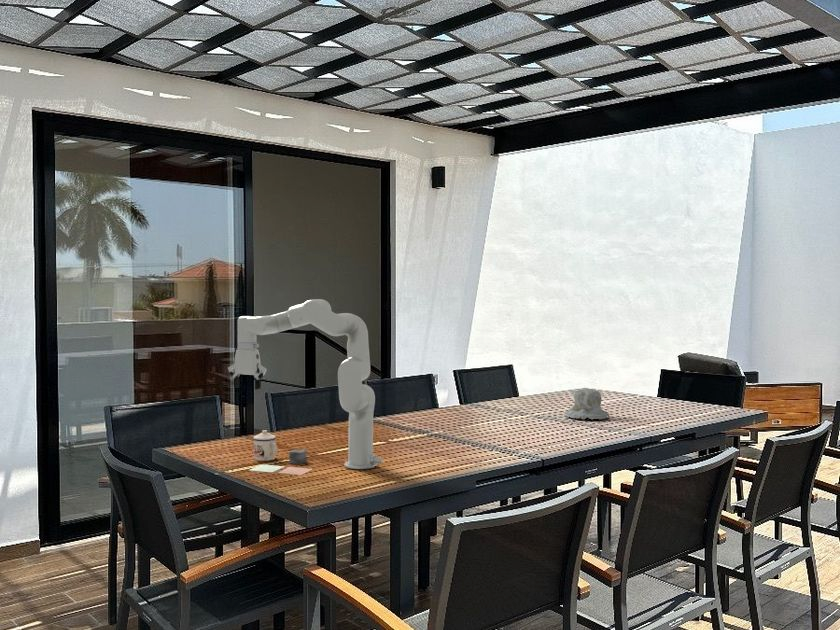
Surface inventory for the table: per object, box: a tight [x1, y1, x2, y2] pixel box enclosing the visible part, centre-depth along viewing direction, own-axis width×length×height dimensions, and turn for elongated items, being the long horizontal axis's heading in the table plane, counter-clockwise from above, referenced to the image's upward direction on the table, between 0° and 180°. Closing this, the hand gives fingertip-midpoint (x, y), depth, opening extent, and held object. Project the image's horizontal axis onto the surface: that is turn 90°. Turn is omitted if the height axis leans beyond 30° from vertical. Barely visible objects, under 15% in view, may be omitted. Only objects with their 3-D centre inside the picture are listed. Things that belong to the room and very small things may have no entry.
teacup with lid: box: [252, 429, 278, 462], centre depth 322 cm, size 12×9×12 cm
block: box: [288, 448, 307, 465], centre depth 316 cm, size 5×5×5 cm
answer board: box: [249, 464, 314, 476], centre depth 303 cm, size 22×10×1 cm, turn 72°
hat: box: [564, 388, 611, 420], centre depth 431 cm, size 26×23×15 cm
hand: (247, 388), depth 324 cm, fingers open, 9 cm apart
